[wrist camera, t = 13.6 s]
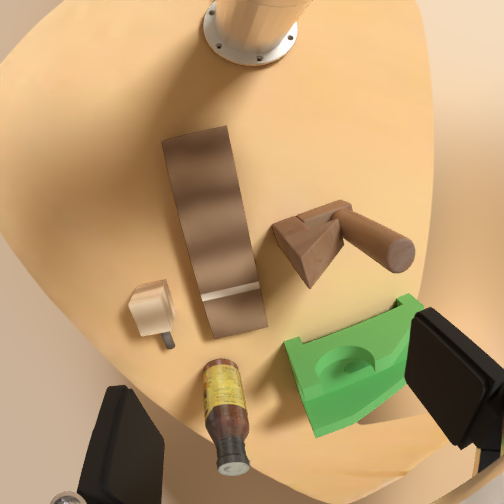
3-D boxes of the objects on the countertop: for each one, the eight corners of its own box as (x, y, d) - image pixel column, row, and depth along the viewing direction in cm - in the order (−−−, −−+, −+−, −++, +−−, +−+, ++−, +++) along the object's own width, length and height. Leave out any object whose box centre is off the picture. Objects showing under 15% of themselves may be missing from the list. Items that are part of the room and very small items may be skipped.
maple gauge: (137, 285, 42) (128, 304, 36) (165, 279, 42) (160, 298, 37) (158, 340, 45) (154, 364, 40) (185, 335, 46) (183, 359, 40)
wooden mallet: (270, 223, 42) (312, 274, 25) (340, 198, 42) (415, 231, 25) (278, 247, 43) (321, 309, 26) (346, 222, 43) (419, 265, 26)
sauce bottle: (196, 363, 48) (196, 462, 29) (231, 351, 48) (245, 450, 29) (213, 388, 50) (219, 483, 31) (245, 378, 50) (264, 472, 31)
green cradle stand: (298, 391, 53) (315, 438, 42) (283, 340, 49) (302, 389, 37) (407, 346, 54) (438, 381, 43) (407, 292, 49) (446, 324, 38)
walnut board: (164, 141, 36) (161, 141, 33) (225, 127, 37) (226, 125, 34) (213, 328, 46) (214, 339, 43) (264, 316, 46) (268, 327, 43)
